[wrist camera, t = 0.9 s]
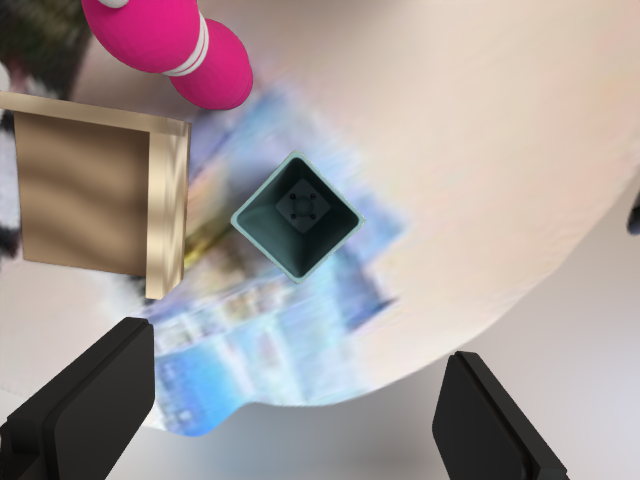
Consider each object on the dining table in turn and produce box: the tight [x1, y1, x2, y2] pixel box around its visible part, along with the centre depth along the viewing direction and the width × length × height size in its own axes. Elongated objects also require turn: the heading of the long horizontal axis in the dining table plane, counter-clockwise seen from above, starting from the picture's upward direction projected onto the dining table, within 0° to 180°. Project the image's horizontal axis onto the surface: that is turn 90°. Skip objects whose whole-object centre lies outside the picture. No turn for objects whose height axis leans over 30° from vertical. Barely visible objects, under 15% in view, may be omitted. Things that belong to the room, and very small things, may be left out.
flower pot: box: [230, 150, 365, 284], centre depth 33 cm, size 9×9×9 cm
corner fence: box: [0, 91, 188, 300], centre depth 34 cm, size 18×18×5 cm
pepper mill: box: [81, 0, 253, 110], centre depth 24 cm, size 7×7×20 cm
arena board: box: [14, 110, 191, 282], centre depth 37 cm, size 18×18×1 cm
